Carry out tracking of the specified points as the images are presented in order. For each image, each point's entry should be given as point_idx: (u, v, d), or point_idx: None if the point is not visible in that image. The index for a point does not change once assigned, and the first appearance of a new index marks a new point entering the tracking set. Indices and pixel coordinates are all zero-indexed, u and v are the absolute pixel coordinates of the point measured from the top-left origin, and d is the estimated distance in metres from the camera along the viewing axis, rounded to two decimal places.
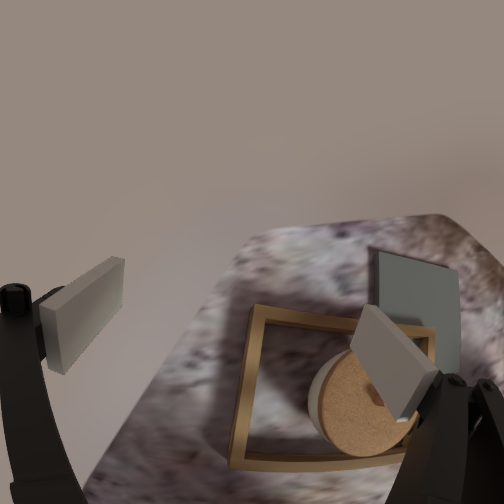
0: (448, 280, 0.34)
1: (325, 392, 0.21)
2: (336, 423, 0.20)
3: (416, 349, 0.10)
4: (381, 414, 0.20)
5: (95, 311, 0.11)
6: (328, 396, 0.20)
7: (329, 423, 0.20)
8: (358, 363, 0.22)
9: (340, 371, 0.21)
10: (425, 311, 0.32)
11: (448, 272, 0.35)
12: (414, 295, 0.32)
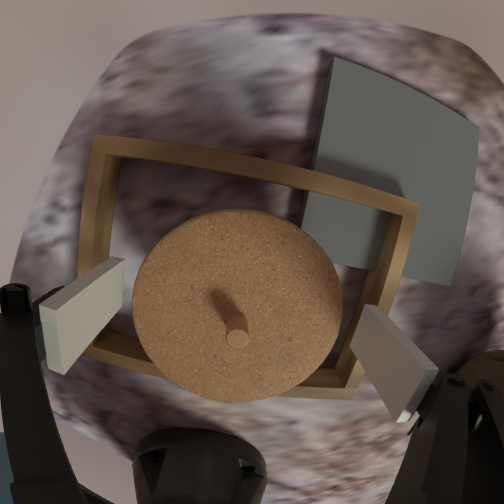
0: (461, 135, 0.18)
1: (136, 288, 0.13)
2: (156, 342, 0.14)
3: (416, 349, 0.10)
4: (241, 347, 0.14)
5: (95, 311, 0.11)
6: (139, 296, 0.13)
7: (145, 338, 0.14)
8: (195, 248, 0.13)
9: (159, 257, 0.13)
10: (410, 170, 0.19)
11: (463, 123, 0.18)
12: (393, 138, 0.18)
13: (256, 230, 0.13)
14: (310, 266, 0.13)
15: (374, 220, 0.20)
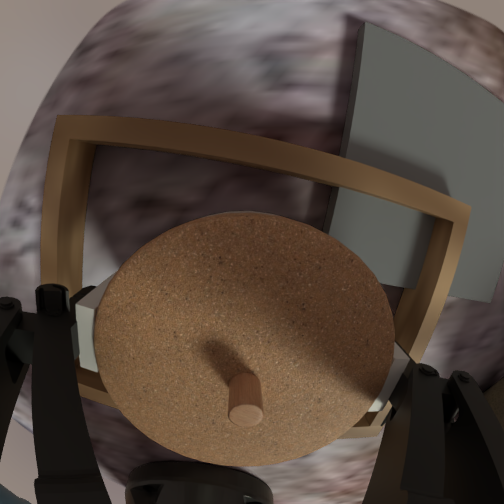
0: None
1: (97, 331, 0.08)
2: (131, 401, 0.09)
3: None
4: None
5: None
6: (102, 343, 0.08)
7: (117, 395, 0.09)
8: (178, 277, 0.08)
9: (124, 290, 0.08)
10: (457, 165, 0.14)
11: None
12: (438, 124, 0.13)
13: (277, 249, 0.08)
14: (357, 303, 0.08)
15: (417, 226, 0.15)
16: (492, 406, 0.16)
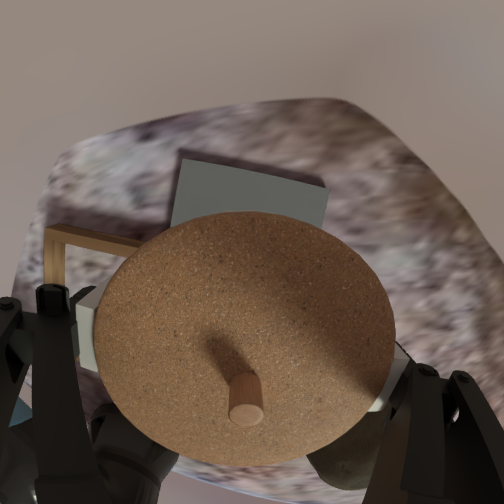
0: (303, 202, 0.29)
1: (96, 330, 0.08)
2: (130, 401, 0.09)
3: None
4: None
5: None
6: (101, 342, 0.08)
7: (116, 395, 0.09)
8: (178, 276, 0.08)
9: (124, 289, 0.08)
10: None
11: (308, 190, 0.28)
12: None
13: (277, 248, 0.08)
14: (358, 302, 0.08)
15: None
16: None
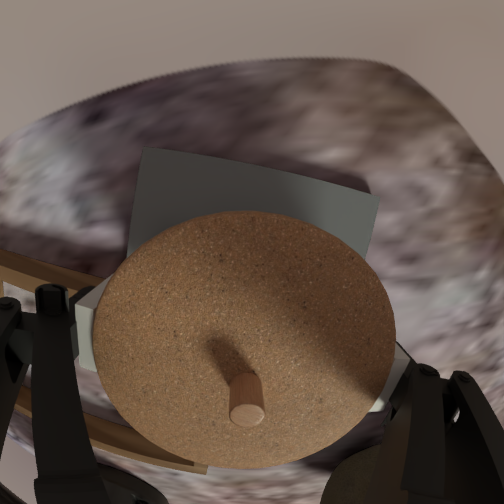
0: (341, 217, 0.17)
1: (95, 331, 0.08)
2: (130, 402, 0.09)
3: None
4: None
5: None
6: (100, 343, 0.08)
7: (115, 397, 0.09)
8: (178, 275, 0.08)
9: (124, 288, 0.08)
10: None
11: (347, 198, 0.17)
12: None
13: (278, 247, 0.08)
14: (358, 301, 0.08)
15: None
16: (340, 475, 0.20)
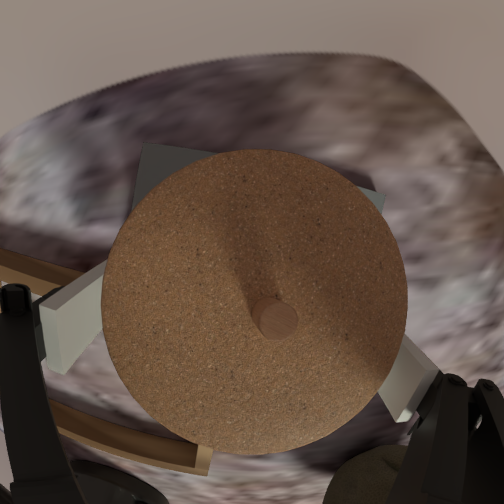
0: None
1: (110, 261, 0.08)
2: (135, 352, 0.08)
3: (416, 349, 0.10)
4: (275, 356, 0.09)
5: (95, 311, 0.11)
6: (114, 272, 0.08)
7: (118, 347, 0.08)
8: (206, 193, 0.09)
9: (151, 209, 0.09)
10: None
11: None
12: None
13: (291, 172, 0.09)
14: (364, 223, 0.09)
15: None
16: (342, 477, 0.19)
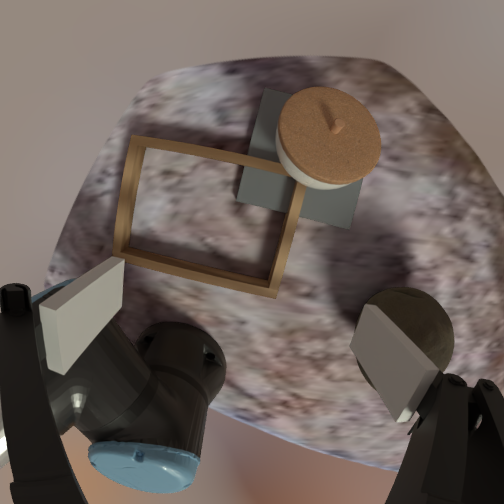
0: None
1: (283, 109, 0.25)
2: (292, 135, 0.25)
3: (416, 349, 0.10)
4: (337, 141, 0.25)
5: (95, 311, 0.11)
6: (285, 112, 0.25)
7: (286, 133, 0.25)
8: (313, 95, 0.25)
9: (297, 97, 0.25)
10: None
11: None
12: None
13: (338, 94, 0.26)
14: (362, 111, 0.26)
15: (284, 182, 0.35)
16: None
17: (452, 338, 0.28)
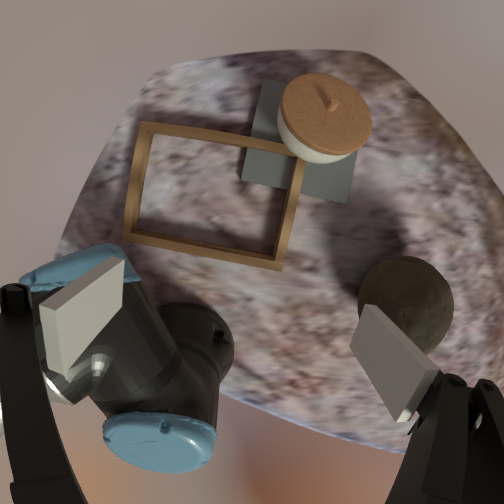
0: None
1: (284, 92, 0.28)
2: (294, 112, 0.27)
3: (416, 349, 0.10)
4: (333, 118, 0.28)
5: (95, 311, 0.11)
6: (287, 94, 0.28)
7: (288, 111, 0.27)
8: (310, 80, 0.28)
9: (296, 81, 0.28)
10: None
11: None
12: None
13: (331, 79, 0.28)
14: (353, 93, 0.29)
15: (285, 162, 0.38)
16: (367, 273, 0.39)
17: (451, 298, 0.30)
